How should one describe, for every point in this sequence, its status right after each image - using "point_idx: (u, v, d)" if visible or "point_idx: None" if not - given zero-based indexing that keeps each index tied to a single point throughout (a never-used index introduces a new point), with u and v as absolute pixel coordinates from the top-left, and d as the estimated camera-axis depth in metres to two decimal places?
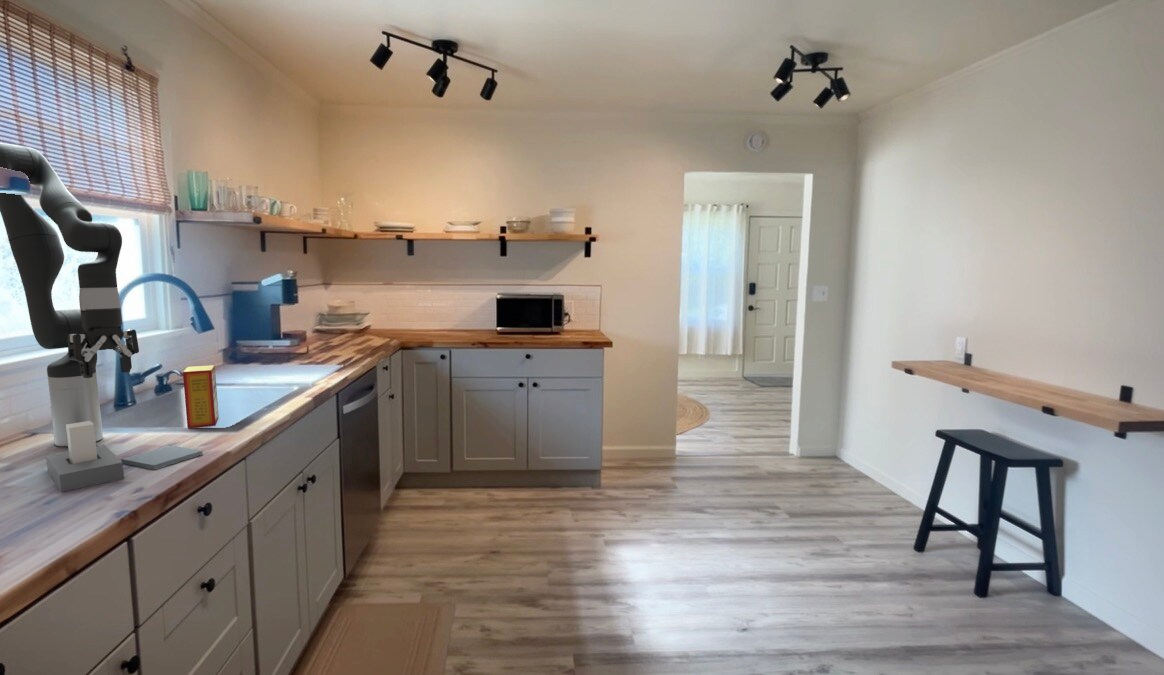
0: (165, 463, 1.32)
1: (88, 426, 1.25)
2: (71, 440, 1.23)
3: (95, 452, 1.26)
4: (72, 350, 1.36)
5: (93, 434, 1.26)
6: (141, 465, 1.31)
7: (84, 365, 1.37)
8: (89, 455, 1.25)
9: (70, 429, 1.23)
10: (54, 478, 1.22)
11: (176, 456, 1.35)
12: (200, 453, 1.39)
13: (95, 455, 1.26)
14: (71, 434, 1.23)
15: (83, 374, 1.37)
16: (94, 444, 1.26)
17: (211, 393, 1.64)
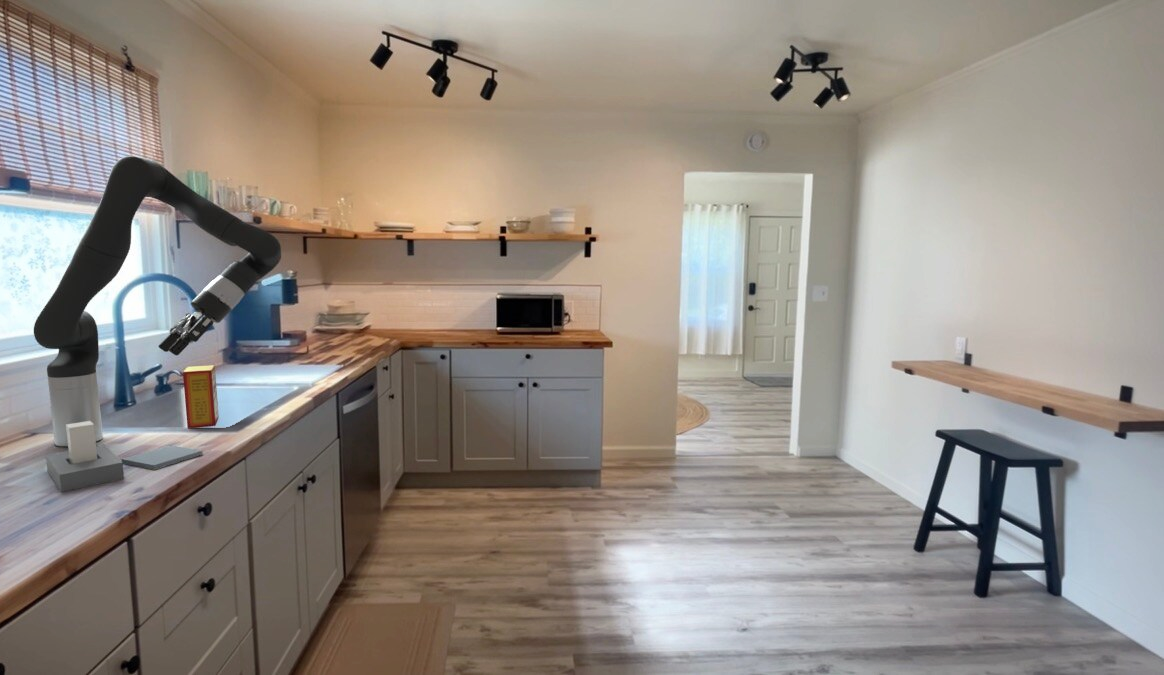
0: (165, 463, 1.32)
1: (88, 426, 1.25)
2: (71, 440, 1.23)
3: (95, 452, 1.26)
4: None
5: (93, 434, 1.26)
6: (141, 465, 1.31)
7: (186, 344, 1.35)
8: (89, 455, 1.25)
9: (70, 429, 1.23)
10: (54, 478, 1.22)
11: (176, 456, 1.35)
12: (200, 453, 1.39)
13: (95, 455, 1.26)
14: (71, 434, 1.23)
15: (177, 350, 1.34)
16: (94, 444, 1.26)
17: (211, 393, 1.64)
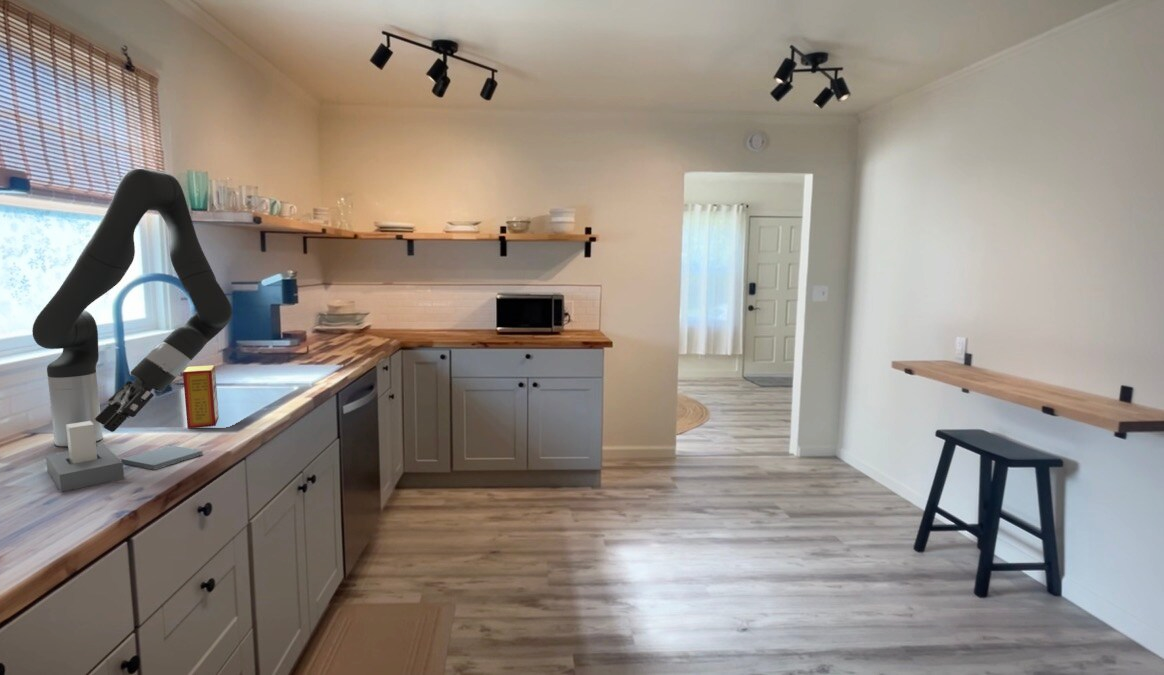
0: (165, 463, 1.32)
1: (88, 426, 1.25)
2: (71, 440, 1.23)
3: (95, 452, 1.26)
4: None
5: (93, 434, 1.26)
6: (141, 465, 1.31)
7: (123, 420, 1.27)
8: (89, 455, 1.25)
9: (70, 429, 1.23)
10: (54, 478, 1.22)
11: (176, 456, 1.35)
12: (200, 453, 1.39)
13: (95, 455, 1.26)
14: (71, 434, 1.23)
15: (112, 426, 1.25)
16: (94, 444, 1.26)
17: (211, 393, 1.64)
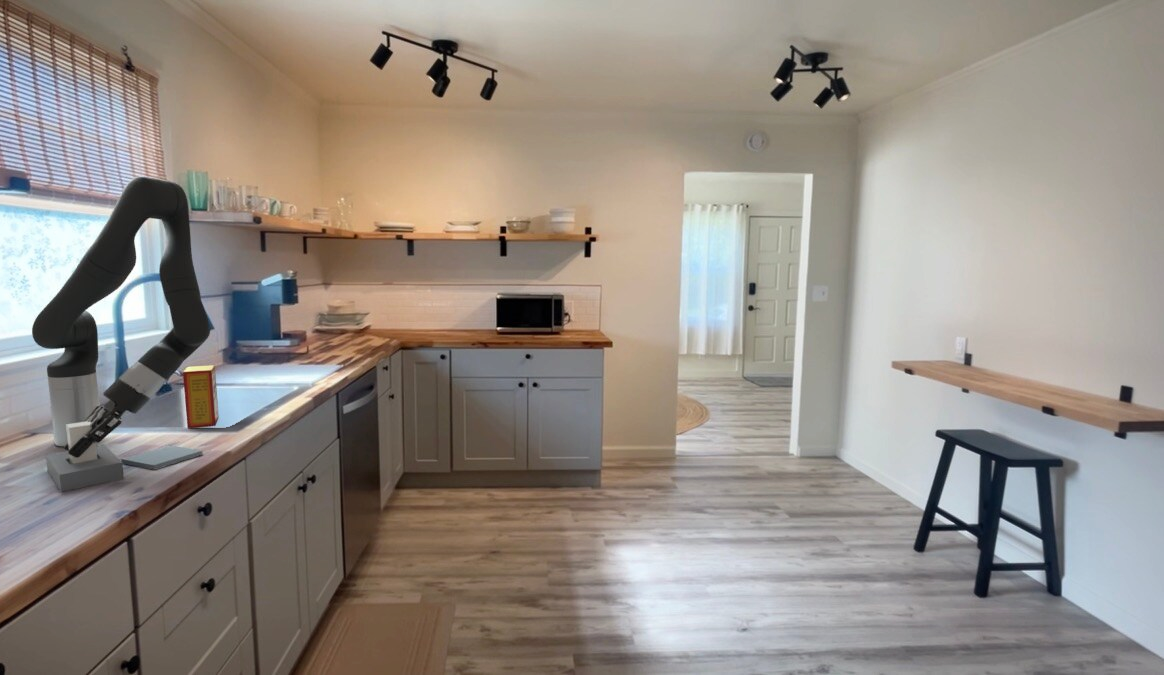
0: (165, 463, 1.32)
1: (88, 426, 1.25)
2: (71, 440, 1.23)
3: (95, 452, 1.26)
4: None
5: None
6: (141, 465, 1.31)
7: (88, 445, 1.24)
8: (89, 455, 1.25)
9: (70, 429, 1.23)
10: (54, 478, 1.22)
11: (176, 456, 1.35)
12: (200, 453, 1.39)
13: (95, 455, 1.26)
14: (71, 434, 1.23)
15: (77, 452, 1.23)
16: (94, 444, 1.26)
17: (211, 393, 1.64)
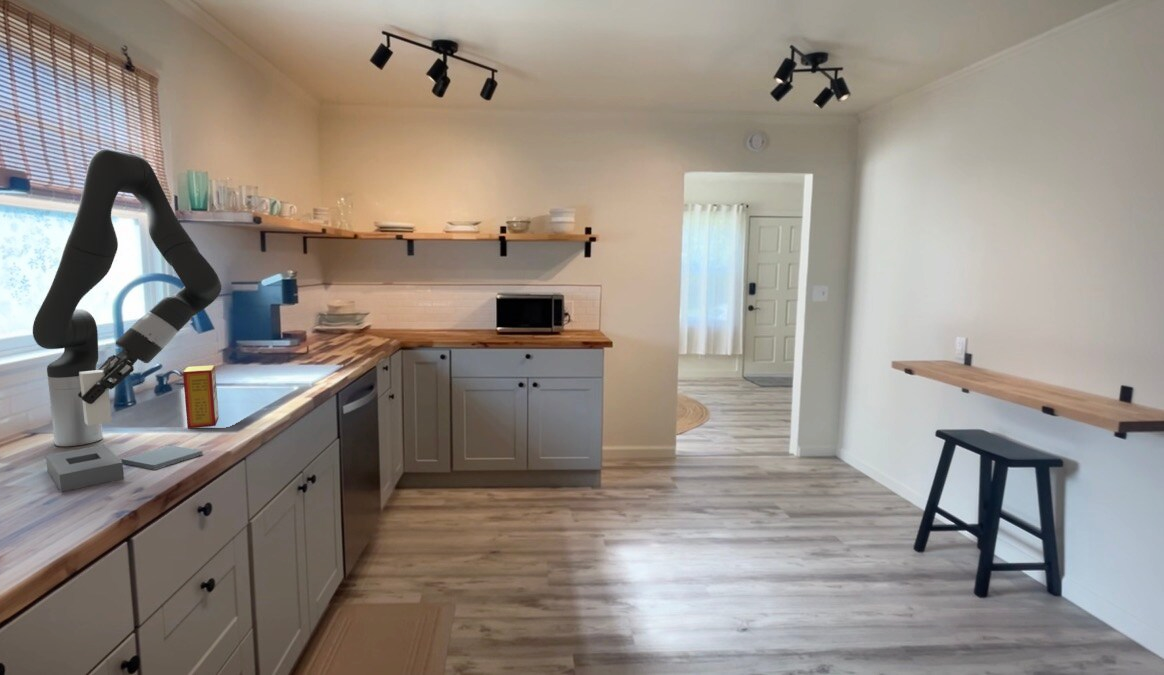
0: (165, 463, 1.32)
1: (101, 373, 1.26)
2: (84, 386, 1.24)
3: (108, 399, 1.27)
4: None
5: None
6: (141, 465, 1.31)
7: (101, 392, 1.25)
8: (102, 402, 1.26)
9: (83, 375, 1.23)
10: (54, 478, 1.22)
11: (176, 456, 1.35)
12: (200, 453, 1.39)
13: (108, 402, 1.27)
14: (84, 380, 1.24)
15: (90, 398, 1.24)
16: (107, 391, 1.27)
17: (211, 393, 1.64)
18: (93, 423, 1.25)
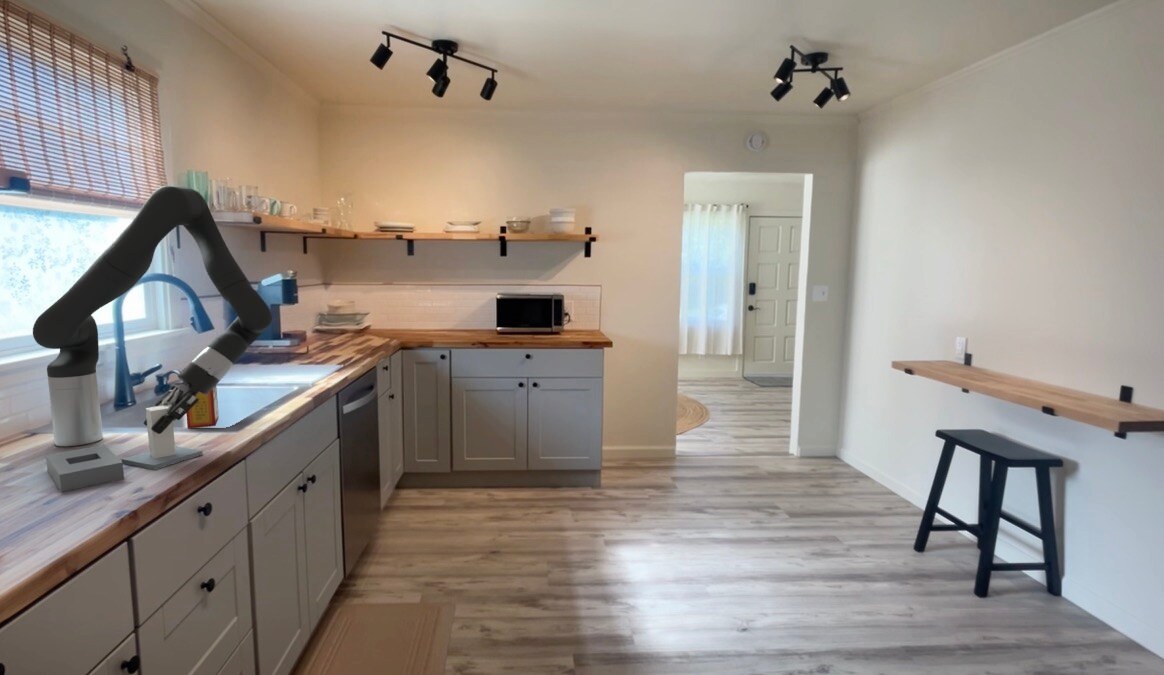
0: (165, 463, 1.32)
1: None
2: (152, 422, 1.33)
3: (172, 434, 1.36)
4: None
5: None
6: (141, 465, 1.31)
7: (169, 422, 1.34)
8: (167, 436, 1.36)
9: (151, 412, 1.33)
10: (54, 478, 1.22)
11: (176, 456, 1.35)
12: (200, 453, 1.39)
13: (172, 436, 1.36)
14: (152, 416, 1.33)
15: (159, 429, 1.32)
16: (172, 426, 1.36)
17: (211, 393, 1.64)
18: (159, 456, 1.35)
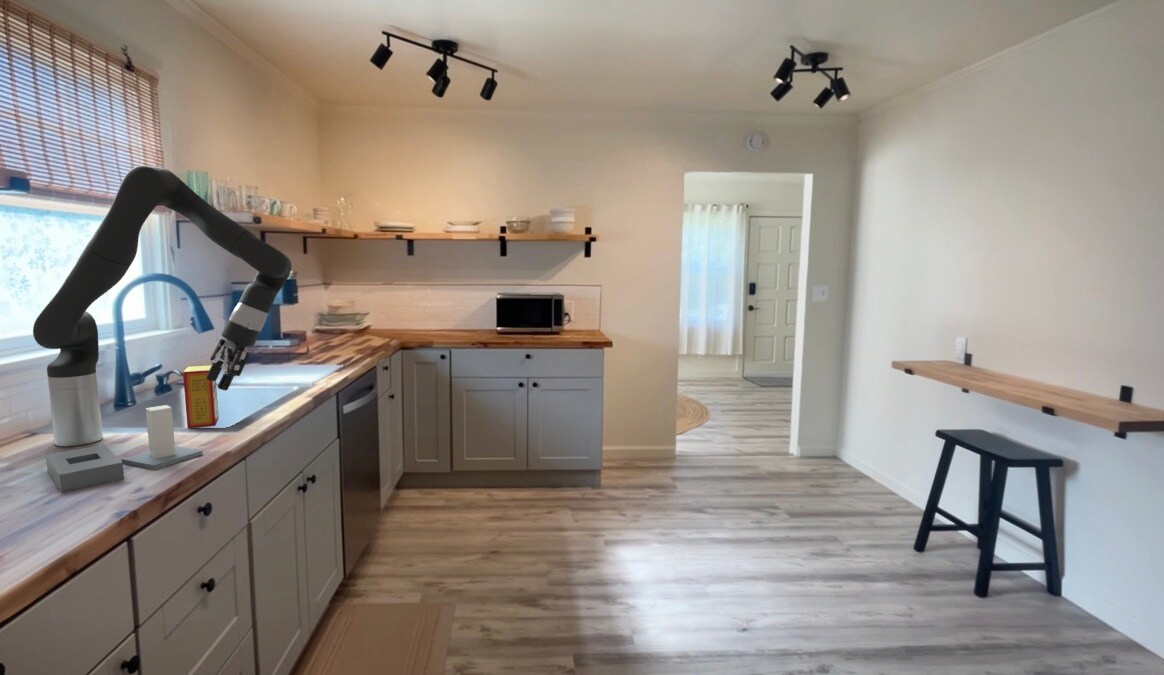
0: (165, 463, 1.32)
1: (167, 409, 1.35)
2: (152, 422, 1.33)
3: (172, 434, 1.36)
4: None
5: (171, 417, 1.36)
6: (141, 465, 1.31)
7: (231, 379, 1.43)
8: (167, 436, 1.36)
9: (151, 412, 1.33)
10: (54, 478, 1.22)
11: (176, 456, 1.35)
12: (200, 453, 1.39)
13: (172, 436, 1.36)
14: (152, 416, 1.33)
15: (225, 386, 1.43)
16: (172, 426, 1.36)
17: (211, 393, 1.64)
18: (159, 456, 1.35)
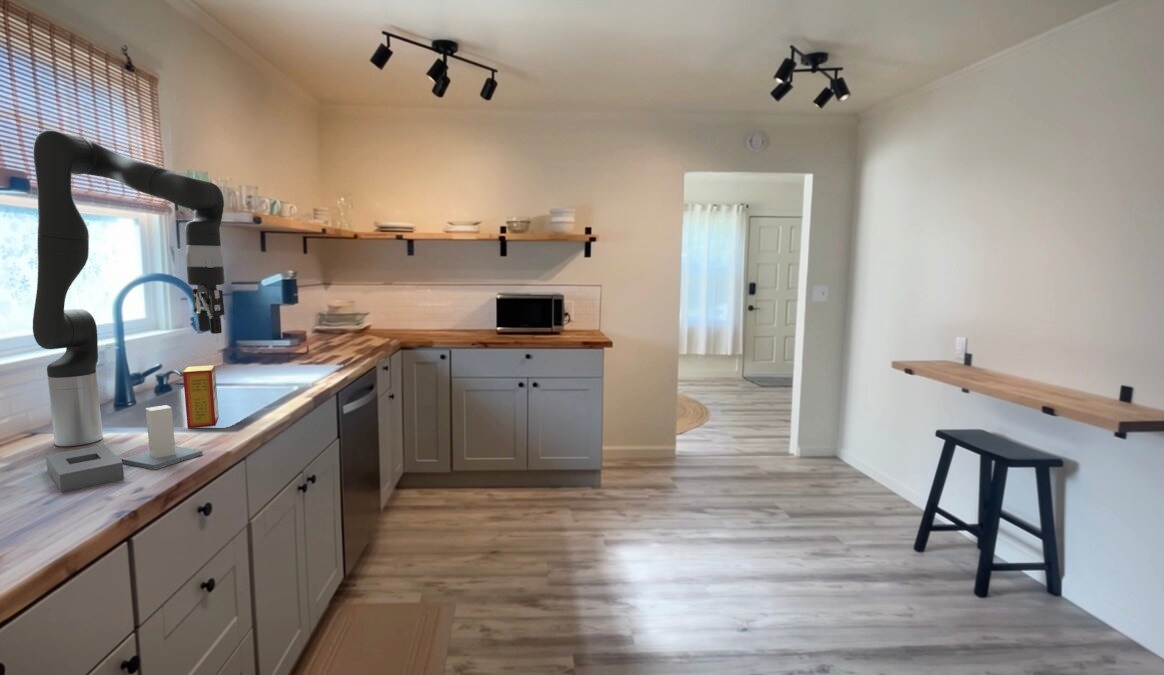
0: (165, 463, 1.32)
1: (167, 409, 1.35)
2: (152, 422, 1.33)
3: (172, 434, 1.36)
4: None
5: (171, 417, 1.36)
6: (141, 465, 1.31)
7: (219, 320, 1.42)
8: (167, 436, 1.36)
9: (151, 412, 1.33)
10: (54, 478, 1.22)
11: (176, 456, 1.35)
12: (200, 453, 1.39)
13: (172, 436, 1.36)
14: (152, 416, 1.33)
15: (217, 329, 1.41)
16: (172, 426, 1.36)
17: (211, 393, 1.64)
18: (159, 456, 1.35)
